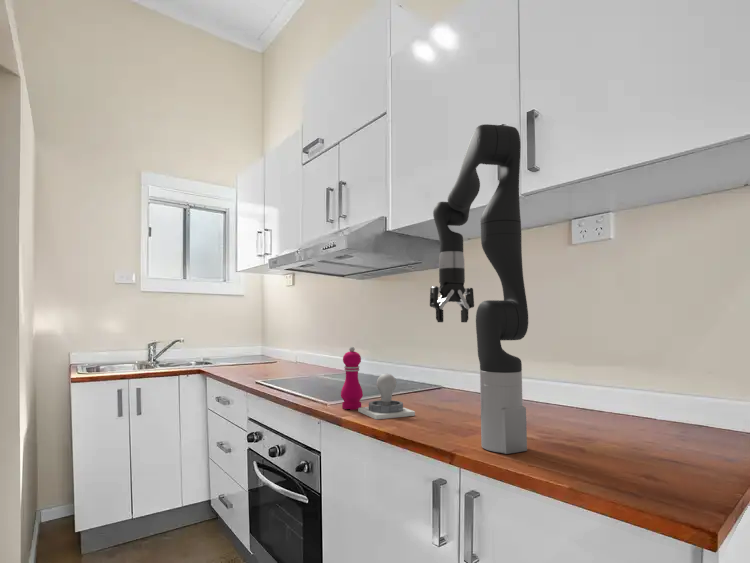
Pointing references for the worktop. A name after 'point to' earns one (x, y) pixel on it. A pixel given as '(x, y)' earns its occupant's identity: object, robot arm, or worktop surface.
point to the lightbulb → (386, 388)
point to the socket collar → (385, 407)
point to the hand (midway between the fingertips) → (452, 322)
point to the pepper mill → (351, 381)
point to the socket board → (386, 415)
